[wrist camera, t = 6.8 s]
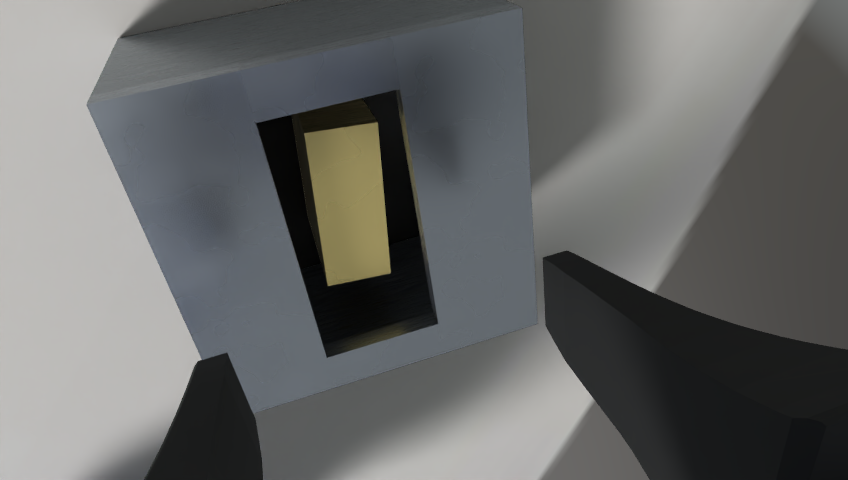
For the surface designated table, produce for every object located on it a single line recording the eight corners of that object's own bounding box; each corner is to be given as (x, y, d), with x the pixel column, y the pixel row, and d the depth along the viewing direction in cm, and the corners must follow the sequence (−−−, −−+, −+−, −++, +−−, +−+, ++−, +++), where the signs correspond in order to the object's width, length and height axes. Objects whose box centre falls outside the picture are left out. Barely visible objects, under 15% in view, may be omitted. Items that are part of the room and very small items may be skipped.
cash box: (224, 304, 24) (229, 420, 19) (118, 38, 18) (86, 104, 13) (472, 233, 25) (537, 323, 20) (443, -29, 20) (522, 7, 15)
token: (308, 217, 23) (327, 286, 19) (286, 83, 20) (304, 133, 17) (361, 208, 23) (391, 273, 20) (347, 75, 21) (377, 122, 17)
